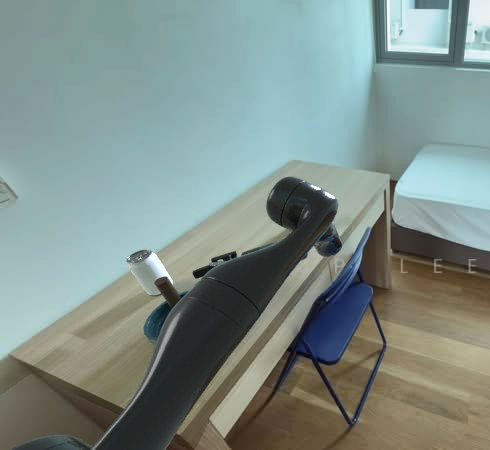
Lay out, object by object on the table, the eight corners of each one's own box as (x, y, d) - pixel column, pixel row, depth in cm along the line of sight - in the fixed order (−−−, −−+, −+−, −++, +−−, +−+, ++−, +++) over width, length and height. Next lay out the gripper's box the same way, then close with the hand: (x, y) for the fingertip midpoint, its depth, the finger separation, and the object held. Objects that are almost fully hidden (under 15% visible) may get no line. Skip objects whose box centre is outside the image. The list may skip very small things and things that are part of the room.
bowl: (207, 353, 70) (198, 339, 67) (139, 356, 70) (127, 343, 67) (235, 300, 83) (228, 287, 80) (177, 303, 83) (168, 290, 80)
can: (142, 293, 86) (118, 261, 79) (162, 278, 91) (141, 246, 84) (159, 298, 85) (136, 266, 78) (179, 282, 90) (159, 250, 83)
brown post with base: (195, 332, 74) (165, 288, 66) (173, 333, 74) (141, 289, 65) (205, 314, 78) (179, 271, 70) (185, 315, 78) (156, 272, 70)
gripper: (255, 234, 82) (186, 257, 75) (267, 264, 72) (188, 294, 65) (263, 256, 86) (199, 279, 79) (276, 287, 76) (203, 317, 69)
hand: (194, 286), depth 72 cm, fingers open, 8 cm apart
